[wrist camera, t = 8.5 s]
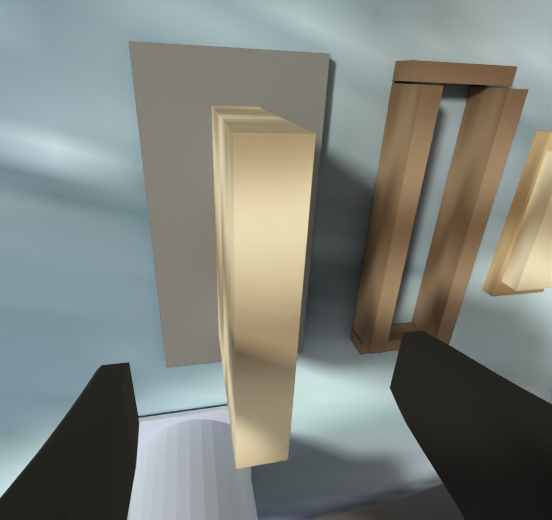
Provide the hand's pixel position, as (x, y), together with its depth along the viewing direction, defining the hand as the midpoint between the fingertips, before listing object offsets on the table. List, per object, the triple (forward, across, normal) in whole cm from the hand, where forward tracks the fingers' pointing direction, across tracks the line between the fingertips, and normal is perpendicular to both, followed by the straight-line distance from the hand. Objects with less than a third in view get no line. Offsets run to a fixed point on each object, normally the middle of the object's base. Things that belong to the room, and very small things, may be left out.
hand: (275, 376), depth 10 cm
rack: (+10, -10, 0) cm, 15 cm away
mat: (+10, 0, 0) cm, 10 cm away
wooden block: (+10, 0, 0) cm, 10 cm away
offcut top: (+10, -19, 0) cm, 21 cm away
